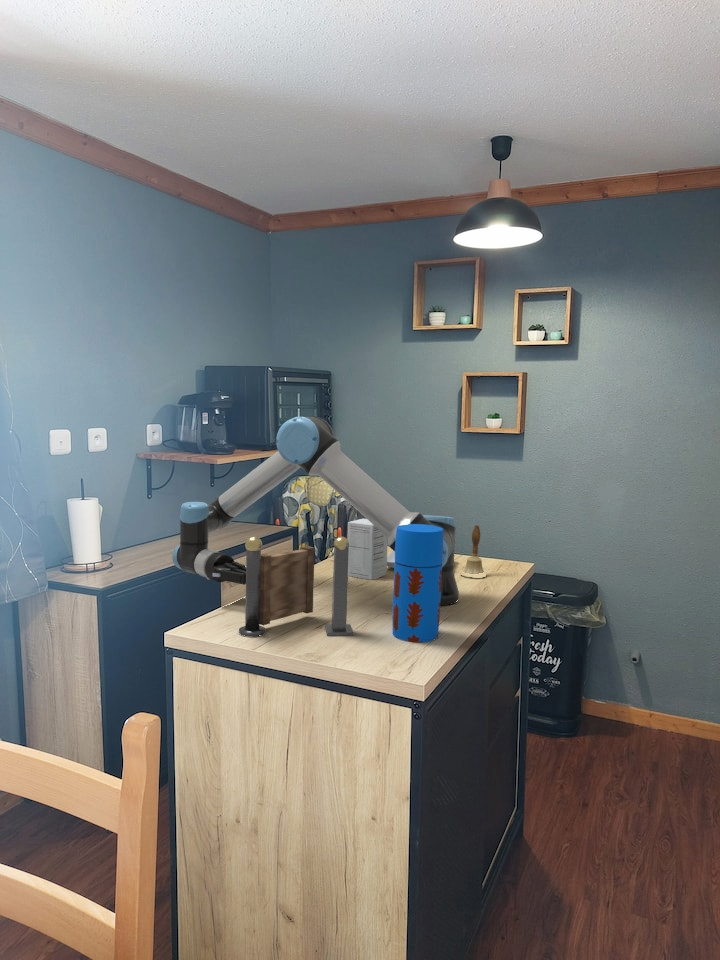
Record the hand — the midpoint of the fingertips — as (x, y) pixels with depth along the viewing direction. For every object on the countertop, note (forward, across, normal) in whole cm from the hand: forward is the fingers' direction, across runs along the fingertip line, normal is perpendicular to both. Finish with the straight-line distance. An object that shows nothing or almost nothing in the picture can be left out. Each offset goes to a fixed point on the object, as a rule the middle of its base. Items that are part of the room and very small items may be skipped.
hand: (274, 583), depth 175 cm
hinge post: (+7, +12, -8) cm, 16 cm away
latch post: (+19, -3, -8) cm, 21 cm away
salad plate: (-9, -71, -9) cm, 72 cm away
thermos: (+33, -15, -8) cm, 37 cm away
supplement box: (-12, -49, -8) cm, 51 cm away
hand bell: (+10, -74, -8) cm, 75 cm away
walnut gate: (+6, +2, -7) cm, 10 cm away
